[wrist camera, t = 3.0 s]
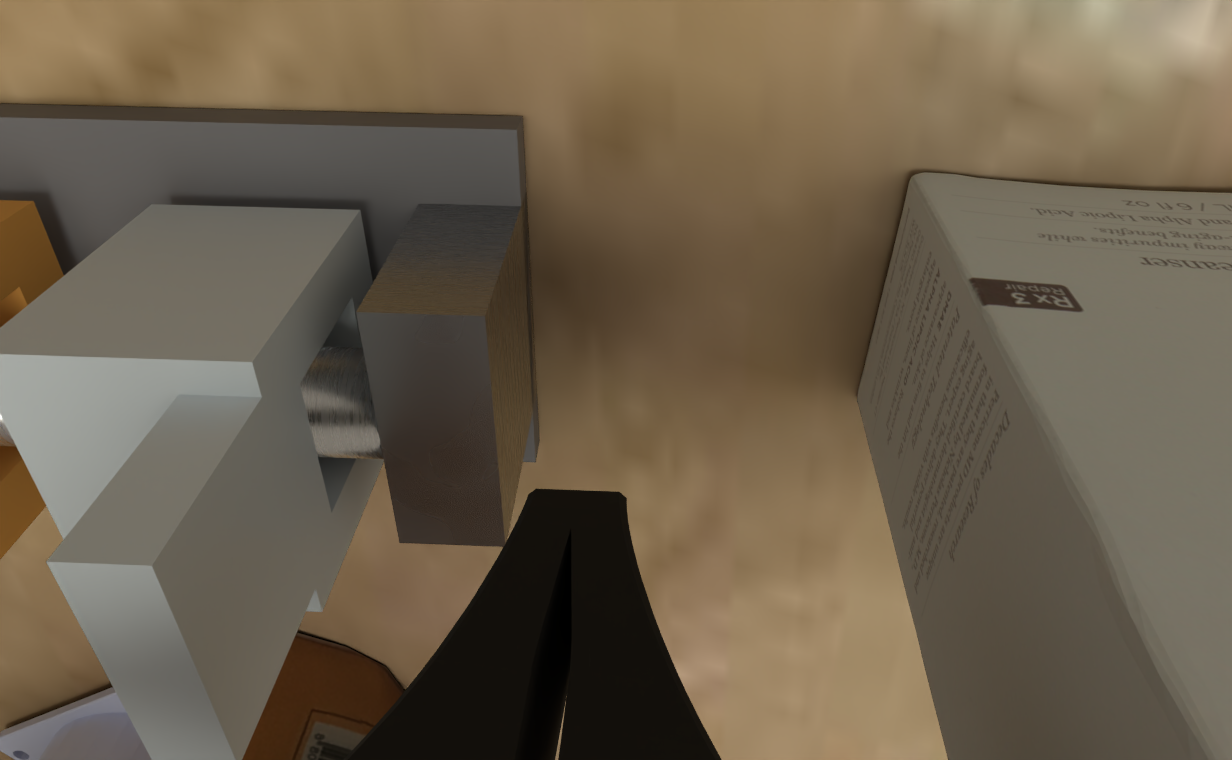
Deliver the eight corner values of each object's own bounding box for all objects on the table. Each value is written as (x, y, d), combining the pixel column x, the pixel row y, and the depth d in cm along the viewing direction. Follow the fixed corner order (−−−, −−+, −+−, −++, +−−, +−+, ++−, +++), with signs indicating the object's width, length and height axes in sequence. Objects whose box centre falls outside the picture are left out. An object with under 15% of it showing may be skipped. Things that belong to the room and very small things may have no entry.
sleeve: (360, 209, 16) (135, 527, 9) (397, 427, 19) (249, 790, 12) (151, 204, 16) (-227, 513, 9) (221, 421, 19) (-26, 777, 12)
